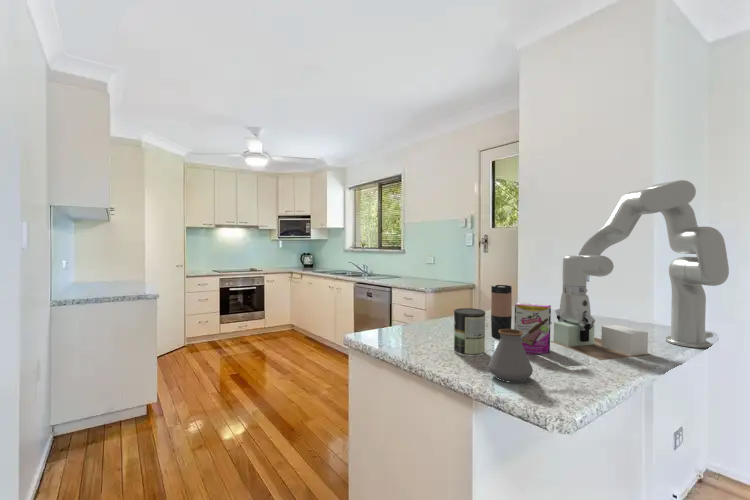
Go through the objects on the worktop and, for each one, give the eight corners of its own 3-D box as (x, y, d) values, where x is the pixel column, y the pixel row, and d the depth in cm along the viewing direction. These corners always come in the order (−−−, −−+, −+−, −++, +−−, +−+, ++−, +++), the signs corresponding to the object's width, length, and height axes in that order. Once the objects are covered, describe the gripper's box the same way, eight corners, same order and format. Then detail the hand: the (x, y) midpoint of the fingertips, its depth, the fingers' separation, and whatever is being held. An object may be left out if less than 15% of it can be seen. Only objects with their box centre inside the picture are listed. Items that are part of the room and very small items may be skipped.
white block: (601, 346, 130) (601, 326, 129) (617, 344, 131) (617, 324, 131) (630, 355, 119) (630, 333, 119) (647, 353, 121) (647, 332, 121)
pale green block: (578, 339, 139) (579, 320, 139) (594, 344, 132) (594, 324, 132) (553, 341, 136) (553, 322, 136) (568, 346, 129) (568, 326, 129)
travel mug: (512, 339, 142) (513, 287, 141) (491, 338, 143) (492, 286, 143) (509, 334, 149) (510, 285, 149) (489, 334, 151) (490, 284, 150)
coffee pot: (511, 389, 95) (511, 330, 95) (479, 374, 105) (479, 321, 105) (566, 375, 105) (566, 321, 104) (532, 363, 115) (532, 314, 115)
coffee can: (449, 354, 125) (449, 311, 124) (459, 346, 133) (459, 307, 133) (480, 359, 119) (480, 315, 119) (488, 350, 128) (488, 309, 128)
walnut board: (595, 340, 141) (595, 337, 141) (652, 357, 120) (652, 354, 120) (549, 343, 136) (549, 341, 136) (600, 363, 115) (600, 359, 115)
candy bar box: (513, 352, 126) (514, 304, 125) (514, 348, 130) (515, 302, 130) (550, 357, 121) (550, 306, 120) (550, 352, 125) (550, 304, 125)
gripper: (603, 293, 126) (602, 343, 126) (565, 287, 143) (564, 331, 143) (584, 293, 124) (584, 345, 125) (548, 287, 141) (547, 332, 141)
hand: (573, 337), depth 134 cm, fingers open, 9 cm apart
